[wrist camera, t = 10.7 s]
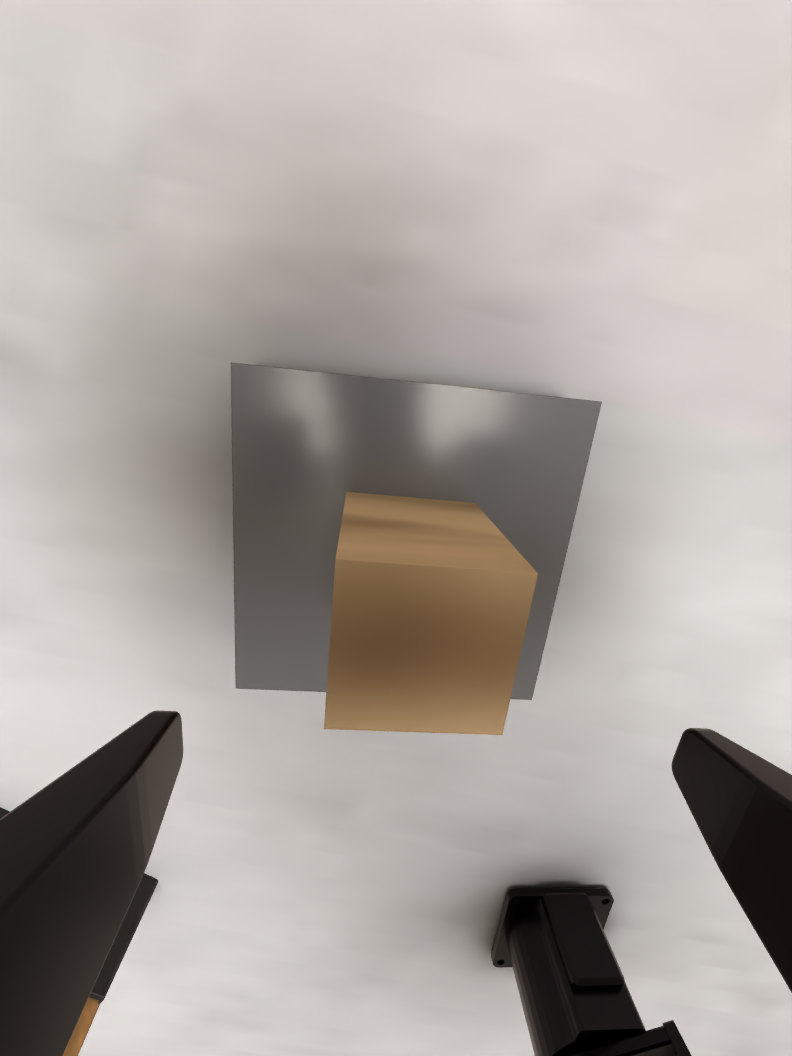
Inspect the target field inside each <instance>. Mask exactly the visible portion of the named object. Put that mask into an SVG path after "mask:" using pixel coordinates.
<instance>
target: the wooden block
mask: <svg viewBox="0 0 792 1056" xmlns="http://www.w3.org/2000/svg"><path fill="white" fill-rule="evenodd" d="M537 576H538V573H537V572H536V571H535V570H534V568H533V567H532V566H531V565H530V564H529V563H528V562H527V561H526V559H525V558H524V557H523V556H522V555H521V554H520V553H519V552H518V551H517V549H516V548H515V547H514V546H513V545H512V544H511V543H510V542H509V540H508V539H507V538H506V537H505V536H504V535H503V534H502V533H501V531H500V530H499V529H498V528H497V527H496V526H495V525H494V524H493V522H492V521H491V520H490V519H489V518H488V517H487V516H486V515H485V513H484V512H483V511H482V510H481V509H480V508H479V507H478V506H477V504H476V503H472V502H460V501H448V500H436V499H425V498H413V497H401V496H389V495H378V494H366V493H354V492H346V497H345V504H344V510H343V516H342V522H341V528H340V534H339V540H338V547H337V553H336V559H335V573H334V588H333V603H332V618H331V633H330V648H329V664H328V679H327V694H326V709H325V724H324V729H341V730H371V731H400V732H430V733H459V734H489V735H502V734H503V729H504V725H505V720H506V716H507V711H508V707H509V702H510V698H511V693H512V689H513V684H514V680H515V675H516V671H517V666H518V662H519V657H520V653H521V648H522V644H523V639H524V635H525V630H526V626H527V621H528V617H529V612H530V608H531V603H532V598H533V594H534V589H535V585H536V580H537Z"/></svg>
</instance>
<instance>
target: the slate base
mask: <svg viewBox="0 0 792 1056" xmlns="http://www.w3.org/2000/svg"><path fill="white" fill-rule="evenodd" d="M601 403H602V402H599V401H589V400H580V399H571V398H561V397H552V396H542V395H533V394H523V393H514V392H504V391H495V390H485V389H476V388H466V387H457V386H447V385H438V384H428V383H419V382H409V381H400V380H391V379H381V378H372V377H362V376H353V375H343V374H334V373H324V372H315V371H305V370H296V369H286V368H277V367H267V366H258V365H248V364H239V363H231V406H232V472H233V539H234V606H235V673H236V688H238V689H264V690H290V691H316V692H327V679H328V664H329V648H330V633H331V618H332V603H333V588H334V573H335V559H336V553H337V547H338V540H339V534H340V528H341V522H342V516H343V510H344V504H345V497H346V492H354V493H366V494H378V495H389V496H401V497H413V498H425V499H436V500H448V501H460V502H472V503H476V504H477V506H478V507H479V508H480V509H481V510H482V511H483V512H484V513H485V515H486V516H487V517H488V518H489V519H490V520H491V521H492V522H493V524H494V525H495V526H496V527H497V528H498V529H499V530H500V531H501V533H502V534H503V535H504V536H505V537H506V538H507V539H508V540H509V542H510V543H511V544H512V545H513V546H514V547H515V548H516V549H517V551H518V552H519V553H520V554H521V555H522V556H523V557H524V558H525V559H526V561H527V562H528V563H529V564H530V565H531V566H532V567H533V568H534V570H535V571H536V572H537V573H538V576H537V580H536V585H535V589H534V594H533V598H532V603H531V608H530V612H529V617H528V621H527V626H526V630H525V635H524V639H523V644H522V648H521V653H520V657H519V662H518V666H517V671H516V675H515V680H514V684H513V689H512V693H511V698H510V699H525V700H532V697H533V692H534V688H535V684H536V680H537V675H538V671H539V667H540V662H541V658H542V654H543V650H544V645H545V641H546V637H547V633H548V628H549V624H550V620H551V616H552V611H553V607H554V603H555V599H556V594H557V590H558V586H559V582H560V577H561V573H562V569H563V565H564V560H565V556H566V552H567V548H568V543H569V539H570V535H571V531H572V526H573V522H574V518H575V514H576V509H577V505H578V501H579V497H580V492H581V488H582V484H583V480H584V475H585V471H586V467H587V463H588V458H589V454H590V450H591V446H592V441H593V437H594V433H595V429H596V424H597V420H598V416H599V412H600V407H601Z"/></svg>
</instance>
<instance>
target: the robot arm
mask: <svg viewBox="0 0 792 1056" xmlns="http://www.w3.org/2000/svg"><path fill="white" fill-rule="evenodd" d="M182 758H183V738H182V722H181V716H180V714H179V713H178V712H176V711H153V712H151V713H149V714H148V715H146V716H145V717H143V718H142V719H141V720H139V721H138V722H136V723H135V724H134V725H132V726H131V727H129V728H128V729H127V730H125V731H124V732H122V733H121V734H119V735H118V736H117V737H115V738H114V739H112V740H111V741H110V742H108V743H107V744H105V745H104V746H103V747H101V748H100V749H98V750H97V751H95V752H94V753H93V754H91V755H90V756H88V757H87V758H86V759H84V760H83V761H81V762H80V763H79V764H77V765H76V766H74V767H73V768H72V769H70V770H69V771H67V772H66V773H64V774H63V775H62V776H60V777H59V778H57V779H56V780H55V781H53V782H52V783H50V784H49V785H48V786H46V787H45V788H43V789H42V790H40V791H39V792H38V793H36V794H35V795H33V796H32V797H31V798H29V799H28V800H26V801H25V802H24V803H22V804H21V805H19V806H18V807H16V808H15V809H14V810H12V811H11V812H9V813H8V814H7V815H5V816H4V817H2V818H1V819H0V1056H63V1054H64V1052H65V1049H66V1047H67V1045H68V1043H69V1041H70V1038H71V1036H72V1034H73V1032H74V1029H75V1027H76V1025H77V1023H78V1020H79V1018H80V1016H81V1014H82V1011H83V1009H84V1007H85V1005H86V1002H87V1000H88V998H89V996H90V993H91V991H92V989H93V987H94V984H95V982H96V980H97V978H98V975H99V973H100V971H101V969H102V967H103V964H104V962H105V960H106V958H107V955H108V953H109V951H110V949H111V946H112V944H113V942H114V940H115V937H116V935H117V933H118V931H119V928H120V926H121V924H122V922H123V919H124V917H125V915H126V913H127V910H128V908H129V906H130V904H131V901H132V899H133V897H134V895H135V893H136V890H137V888H138V886H139V883H140V881H141V879H142V876H143V874H144V871H145V869H146V866H147V864H148V861H149V858H150V855H151V852H152V850H153V847H154V844H155V841H156V838H157V835H158V832H159V829H160V826H161V823H162V820H163V817H164V814H165V811H166V808H167V805H168V802H169V799H170V796H171V793H172V790H173V787H174V784H175V781H176V778H177V775H178V773H179V770H180V766H181V763H182ZM672 772H673V775H674V778H675V780H676V782H677V784H678V786H679V788H680V790H681V792H682V794H683V796H684V798H685V800H686V802H687V804H688V806H689V808H690V810H691V813H692V815H693V817H694V819H695V821H696V823H697V825H698V827H699V829H700V831H701V833H702V835H703V837H704V839H705V841H706V843H707V845H708V847H709V849H710V851H711V853H712V855H713V857H714V859H715V861H716V863H717V865H718V867H719V869H720V871H721V872H722V874H723V876H724V878H725V879H726V881H727V883H728V885H729V887H730V888H731V890H732V892H733V893H734V895H735V897H736V898H737V900H738V902H739V904H740V905H741V907H742V909H743V910H744V912H745V914H746V916H747V917H748V919H749V921H750V922H751V924H752V926H753V927H754V929H755V931H756V933H757V934H758V936H759V938H760V939H761V941H762V943H763V944H764V946H765V948H766V950H767V951H768V953H769V955H770V956H771V958H772V960H773V962H774V963H775V965H776V967H777V968H778V970H779V972H780V973H781V975H782V977H783V979H784V980H785V982H786V984H787V985H788V987H789V989H790V991H791V992H792V775H791V774H789V773H787V772H786V771H784V770H782V769H780V768H778V767H777V766H775V765H773V764H771V763H770V762H768V761H766V760H764V759H763V758H761V757H759V756H757V755H756V754H754V753H752V752H750V751H748V750H747V749H745V748H743V747H741V746H740V745H738V744H736V743H734V742H733V741H731V740H729V739H727V738H726V737H724V736H722V735H720V734H719V733H717V732H715V731H713V730H710V729H703V728H689V729H686V730H685V731H684V732H683V734H682V736H681V739H680V742H679V744H678V747H677V750H676V752H675V755H674V758H673V761H672ZM613 902H614V899H613V897H612V895H611V893H610V891H609V890H608V889H513V890H510V891H509V892H508V893H507V895H506V899H505V903H504V907H503V911H502V915H501V918H500V922H499V926H498V930H497V934H496V938H495V942H494V946H493V950H492V954H491V957H492V962H493V965H494V966H495V967H513V970H514V974H515V978H516V982H517V986H518V990H519V994H520V998H521V1002H522V1006H523V1010H524V1014H525V1018H526V1022H527V1026H528V1030H529V1034H530V1038H531V1042H532V1046H533V1050H534V1054H535V1056H691V1054H690V1052H689V1050H688V1048H687V1046H686V1044H685V1042H684V1040H683V1038H682V1036H681V1035H680V1033H679V1031H678V1029H677V1027H676V1025H675V1023H674V1021H673V1020H671V1021H668V1022H665V1023H663V1026H661V1027H658V1028H655V1029H651V1030H648V1031H646V1030H645V1027H644V1025H643V1023H642V1020H641V1018H640V1016H639V1014H638V1011H637V1009H636V1007H635V1004H634V1002H633V1000H632V997H631V995H630V993H629V990H628V988H627V986H626V983H625V981H624V977H623V974H622V972H621V970H620V968H619V965H618V963H617V961H616V958H615V956H614V954H613V951H612V949H611V947H610V944H609V942H608V940H607V937H606V935H605V933H604V931H603V929H604V926H605V923H606V921H607V918H608V915H609V912H610V910H611V907H612V904H613Z"/></svg>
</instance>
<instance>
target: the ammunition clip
mask: <svg viewBox="0 0 792 1056" xmlns="http://www.w3.org/2000/svg"><path fill="white" fill-rule="evenodd" d="M8 813H9V811H7V810H5V809H3V808H1V807H0V819H1V818H2V817H4V816H5V815H7V814H8ZM157 883H158V880H157V879H155V878H153V877H151V876H149V875H147V874H143V876H142V879H141V881H140V883H139V886H138V888H137V890H136V893H135V895H134V897H133V899H132V901H131V904H130V906H129V908H128V910H127V913H126V915H125V917H124V919H123V922H122V924H121V926H120V928H119V931H118V933H117V935H116V937H115V940H114V942H113V944H112V946H111V949H110V951H109V953H108V955H107V958H106V960H105V962H104V964H103V967H102V969H101V971H100V973H99V975H98V978H97V980H96V982H95V984H94V987H93V989H92V991H91V993H90V996H89V998H88V1000H87V1002H86V1005H85V1007H84V1009H83V1011H82V1014H81V1016H80V1018H79V1020H78V1023H77V1025H76V1027H75V1029H74V1032H73V1034H72V1036H71V1038H70V1041H69V1043H68V1045H67V1047H66V1049H65V1052H64V1054H63V1056H78V1054H79V1052H80V1049H81V1047H82V1045H83V1042H84V1040H85V1038H86V1035H87V1033H88V1031H89V1028H90V1026H91V1024H92V1021H93V1019H94V1017H95V1014H96V1012H97V1010H98V1007H99V1005H100V1003H101V1002H102V1001H103V1000H104V998H105V996H106V994H107V992H108V990H109V987H110V985H111V983H112V981H113V979H114V977H115V974H116V972H117V970H118V968H119V966H120V964H121V961H122V959H123V957H124V955H125V953H126V951H127V948H128V946H129V944H130V942H131V940H132V938H133V935H134V933H135V931H136V929H137V927H138V925H139V922H140V920H141V918H142V916H143V914H144V912H145V909H146V907H147V905H148V903H149V901H150V899H151V896H152V894H153V892H154V890H155V888H156V885H157Z"/></svg>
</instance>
